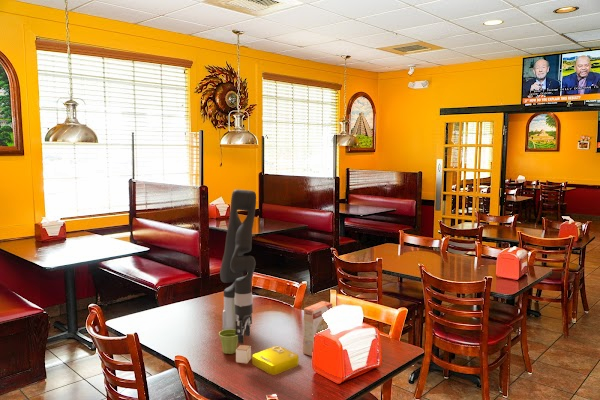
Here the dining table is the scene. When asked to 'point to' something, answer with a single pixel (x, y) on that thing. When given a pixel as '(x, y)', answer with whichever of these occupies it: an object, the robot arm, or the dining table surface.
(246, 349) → the cream brown block
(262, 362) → the element tile
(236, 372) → the dining table surface
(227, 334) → the plant pot
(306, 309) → the cracker box
